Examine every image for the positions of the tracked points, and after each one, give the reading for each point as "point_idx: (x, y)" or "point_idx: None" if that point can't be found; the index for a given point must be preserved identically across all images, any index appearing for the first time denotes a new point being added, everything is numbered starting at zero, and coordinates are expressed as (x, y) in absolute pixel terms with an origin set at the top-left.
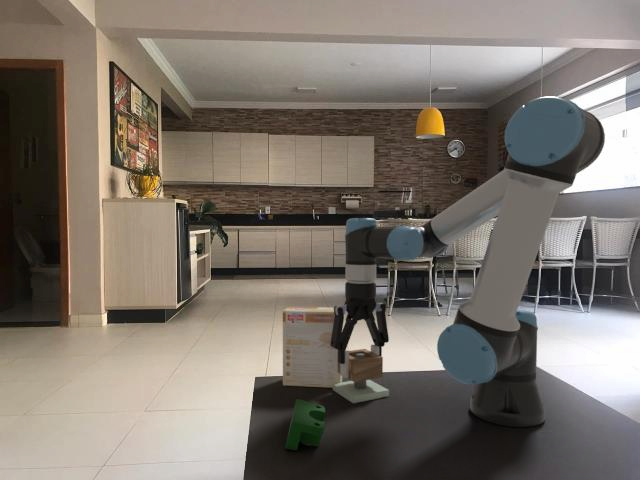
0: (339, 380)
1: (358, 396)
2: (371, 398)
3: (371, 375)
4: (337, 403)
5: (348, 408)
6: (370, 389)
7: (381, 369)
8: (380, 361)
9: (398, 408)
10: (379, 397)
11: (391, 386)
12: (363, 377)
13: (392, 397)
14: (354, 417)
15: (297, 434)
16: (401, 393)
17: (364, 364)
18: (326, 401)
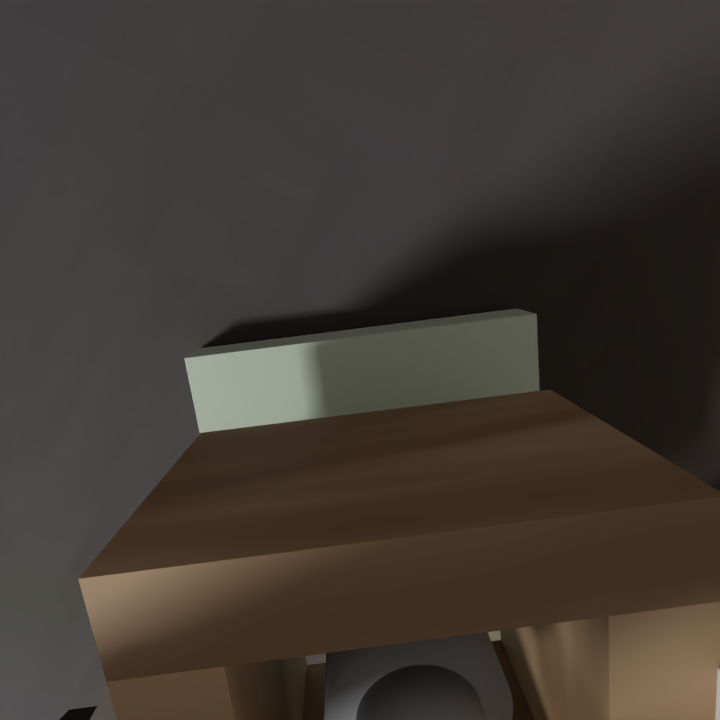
0: (491, 639)
1: (486, 318)
2: (359, 330)
3: (339, 428)
4: (617, 345)
5: (593, 230)
6: None
7: (185, 469)
8: (161, 527)
9: (238, 89)
10: (286, 338)
11: (93, 526)
12: (444, 412)
13: (183, 320)
14: (638, 48)
15: None
16: (77, 373)
17: (474, 479)
18: (667, 404)
